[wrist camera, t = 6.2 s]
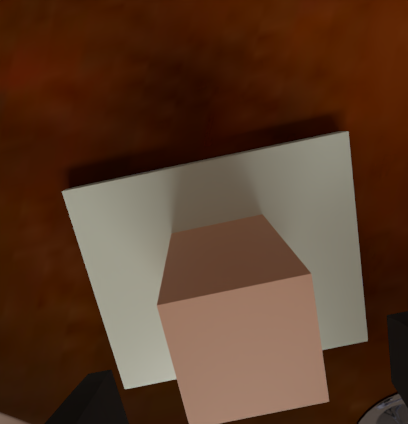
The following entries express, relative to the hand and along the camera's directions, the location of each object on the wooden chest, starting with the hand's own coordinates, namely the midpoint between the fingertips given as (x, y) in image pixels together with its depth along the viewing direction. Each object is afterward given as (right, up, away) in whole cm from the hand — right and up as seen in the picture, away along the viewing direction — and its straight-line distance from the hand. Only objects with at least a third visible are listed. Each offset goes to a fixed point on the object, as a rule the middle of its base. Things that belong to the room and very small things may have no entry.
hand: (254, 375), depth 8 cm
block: (0, +2, +6) cm, 6 cm away
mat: (0, +2, +7) cm, 7 cm away
